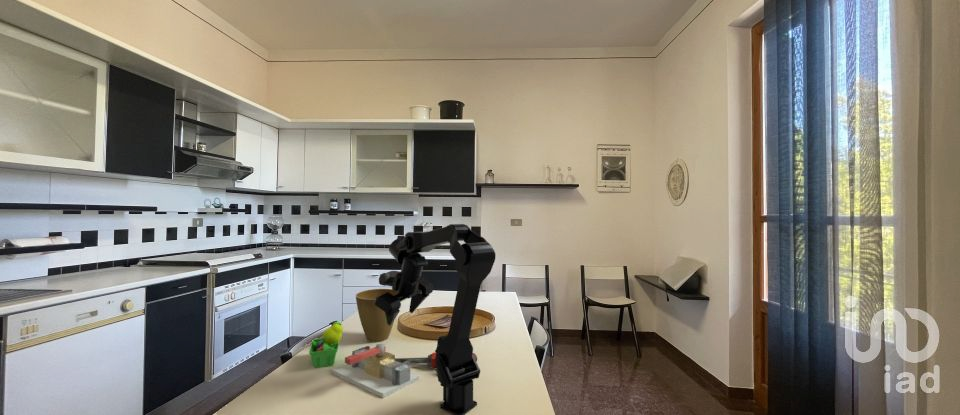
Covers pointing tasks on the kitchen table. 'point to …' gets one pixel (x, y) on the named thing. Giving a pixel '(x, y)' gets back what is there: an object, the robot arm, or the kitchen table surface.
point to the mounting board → (370, 380)
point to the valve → (426, 360)
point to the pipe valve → (384, 367)
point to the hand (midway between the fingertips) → (400, 318)
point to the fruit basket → (326, 346)
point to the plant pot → (373, 315)
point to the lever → (365, 354)
